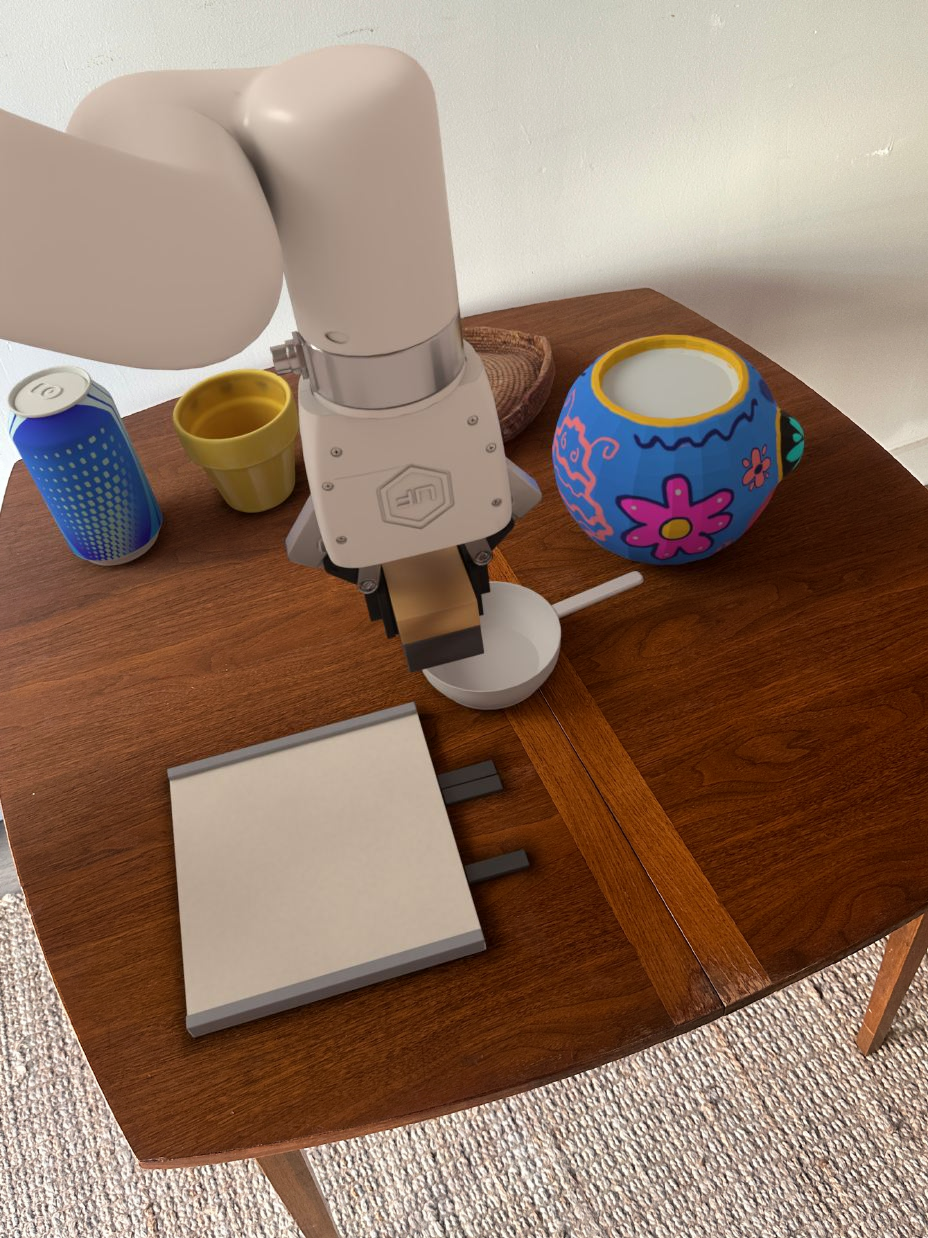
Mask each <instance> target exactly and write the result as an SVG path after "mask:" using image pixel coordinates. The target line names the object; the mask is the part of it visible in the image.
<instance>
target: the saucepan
mask: <svg viewBox="0 0 928 1238" xmlns="http://www.w3.org/2000/svg"><path fill="white" fill-rule="evenodd" d="M489 582H490V592H489V593H485V594H481V595H482V603H483V611H484V615H482V616H479V618H480V625H481V632H482V639H483V646H484V654H481V655H477V656H473V657H469V658H465V659H462V660H458V661H454V662H450V663H447V664H443V665H439V666H435V667H431V668H428V669H424V670H421V671H422V673H423V674H424V677H426V679H427V681H428V682H429V683H430V684H431V685H432V687H433V688H435V689H436V690H437V691H438V692H440V693H441V694H442V695H444V696H445V697H447V698H448V699H450V700H453V701H454V702H456V703H457V704H460V705H462V706H464V707H467V708H471V709H476V710H484V711H485V710H486V711H488V710H499V709H506V708H508V707H512V706H515V705H516V704H518V703H520V702H522V701H524V700H526V699H527V698H529V697H531V696H532V695H533V694H534V693H535V692H536V691H537V690H538V689H539V688H540V687H541V686H542V685H543V684H544V683H545V682H546V680H547V679H548V678H549V676H550V675H551V674H552V672H553V671H554V669H555V666H556V665H557V663H558V659H559V655H560V651H561V650H560V649H561V646H562V645H561V642H562V641H561V638H562V627H561V623H560V618H563V617H565V616H568V615H570V614H573V613H575V612H577V611H578V612H579V610H582V609H584V608H587V607H589V606H592V605H594V604H597V603H599V602H601V601H604V600H606V599H608V598H611V597H615V595H619V594H620V593H623V592H625V591H628V590H630V589H633V588H635V587H637V586H639V585H641V584H643V583H644V576H643V575H642V573H641V572H639V571H636V570H634V571H631V572H627V573H625V574H623V575H620V576H618V577H617V578H613V579H611V580H608V581H606V582H604V583H601V584H599V585H596V586H595V587H592V588H590V589H587V590H585V591H582V592H580V593H577V594H575V595H573V596H571V597H568V598H565V599H563V600H561V601H558V602H556V603H554V604H550V602H549V601H548V600H547V599H545V598H544V597H543V596H542V595H541V594H539V593H537V592H536V591H534V590H533V589H531V588H528V587H525V586H523V585H520V584H516V583H513V582H507V581H489Z"/></svg>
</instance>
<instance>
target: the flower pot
mask: <svg viewBox="0 0 928 1238" xmlns="http://www.w3.org/2000/svg"><path fill="white" fill-rule="evenodd" d="M294 396H295V395H294V392H293V390H292V388H291V386H290V384H289V383H288V381H287V380H285V378H283V377H282V376H281V375H279V376H277V374H276V372H272V371H269V370H266V369H265V370H264V369H259V368H238V369H233V370H226V371H223V372H220V373H217V374H214V375H212V376H209V377H207V378H204V379H203V380H201V381H199V382H198V383H196V384H194V385H193V386H191V387H190V388H189V389H187V390H186V391H185V392H184V393H183V394H182V395H181V396H180V398H179V399H178V401H177V402H176V403H175V405H174V409H173V411H172V423H173V427H174V430H175V432H176V434H177V437H178V439H179V442H180V444H181V446H182V448H183V451H184V452H185V454H186V455H187V457H188V458H189V459H190V460H191V461H192V462H194V463H195V464H196V465H198V466H200V467H201V468H202V469H203V470H204V472H205V473H206V475H207V476H208V478H209V479H210V480H211V482H212V483H213V484H214V485H213V486H215V488H216V489H217V490H218V492H219V493H220V495H221V496H222V498H223V499H224V501H225V502H226V504H227V505H229V507H230V508H233V509H234V510H235V511H239V512H242V513H252V514H253V513H261V512H266V511H269V510H271V509H274V508H275V507H278V506H279V505H281V504H282V503H283V502H284V501H286V500H287V499H288V498H289V497H290V496H291V494H293V491H294V489H295V485H296V457H295V454H296V453H295V452H296V451H295V449H296V448H295V439H296V437H297V435H298V432H299V430H300V424H299V411H298V407H297V404H296V400H295V397H294Z"/></svg>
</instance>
